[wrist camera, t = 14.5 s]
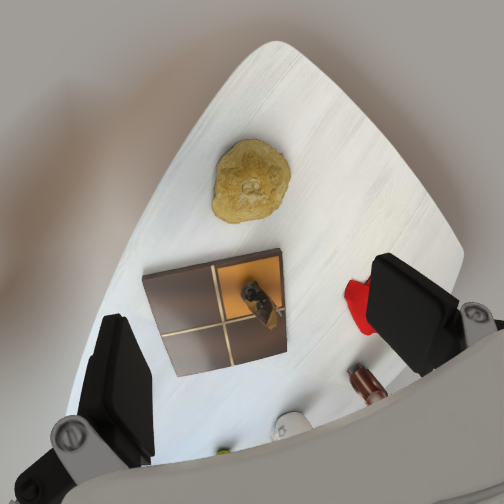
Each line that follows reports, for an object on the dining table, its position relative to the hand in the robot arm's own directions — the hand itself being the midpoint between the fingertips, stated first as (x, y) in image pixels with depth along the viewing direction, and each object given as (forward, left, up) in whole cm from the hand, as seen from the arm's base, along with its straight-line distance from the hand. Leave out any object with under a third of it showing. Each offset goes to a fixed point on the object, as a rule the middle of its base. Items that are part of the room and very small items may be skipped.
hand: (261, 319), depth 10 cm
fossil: (+1, +6, -28) cm, 29 cm away
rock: (+16, +5, -27) cm, 32 cm away
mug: (+58, +9, -28) cm, 65 cm away
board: (+21, 0, -28) cm, 35 cm away
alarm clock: (+47, +28, -28) cm, 62 cm away
